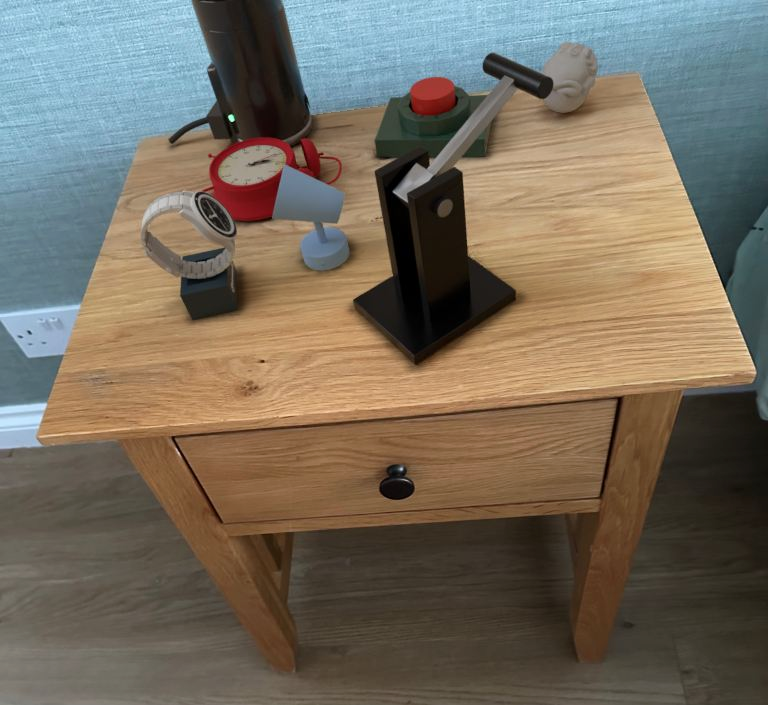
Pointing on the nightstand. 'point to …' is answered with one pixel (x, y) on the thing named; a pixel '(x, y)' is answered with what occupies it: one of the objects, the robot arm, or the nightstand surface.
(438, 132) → the button block
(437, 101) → the button
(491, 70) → the lever
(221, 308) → the watch
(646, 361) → the nightstand surface
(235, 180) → the alarm clock
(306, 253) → the spotlight
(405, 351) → the bracket
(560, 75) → the grey rounded piece
